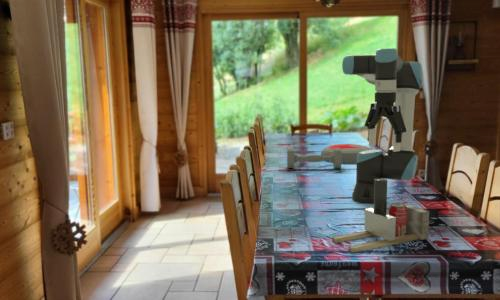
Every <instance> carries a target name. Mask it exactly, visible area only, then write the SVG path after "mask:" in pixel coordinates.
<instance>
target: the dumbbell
mask: <svg viewBox="0 0 500 300" xmlns="http://www.w3.org/2000/svg"><path fill="white" fill-rule="evenodd" d="M286 154H287V157H286V160H287V163H286V166H287V167H286V168H287V169H288V168H293V169H294V168H295V164H296V163H298V162H300V161H301V162H307V163H320V162H329V161H331V162H330V163H331V164H333V169H334V168H335V170H338V168H340V169H342V164H343V163H342V154H341V149H340V148H334V151H333V154H331V155H330V156H321V154H307V155H298V154H297V153H295V148H294V147H288V148H287V153H286ZM336 168H337V169H336Z"/></svg>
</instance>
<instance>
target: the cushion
mask: <svg viewBox="0 0 500 300" xmlns="http://www.w3.org/2000/svg"><path fill="white" fill-rule="evenodd" d="M334 148H340V149H341V154H342V162H343V163H342V164H357V163H356V161H357V155H358V153H359V152H362V151H366V150H374V149H373V148H371V147H370V146H366V145H361V144H357V143H353V144H352V143H339V144H331V145H328V146H326V147H323V149H322V150H321V152H320V155H321V156H330V155H331V154H333V151H334Z"/></svg>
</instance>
